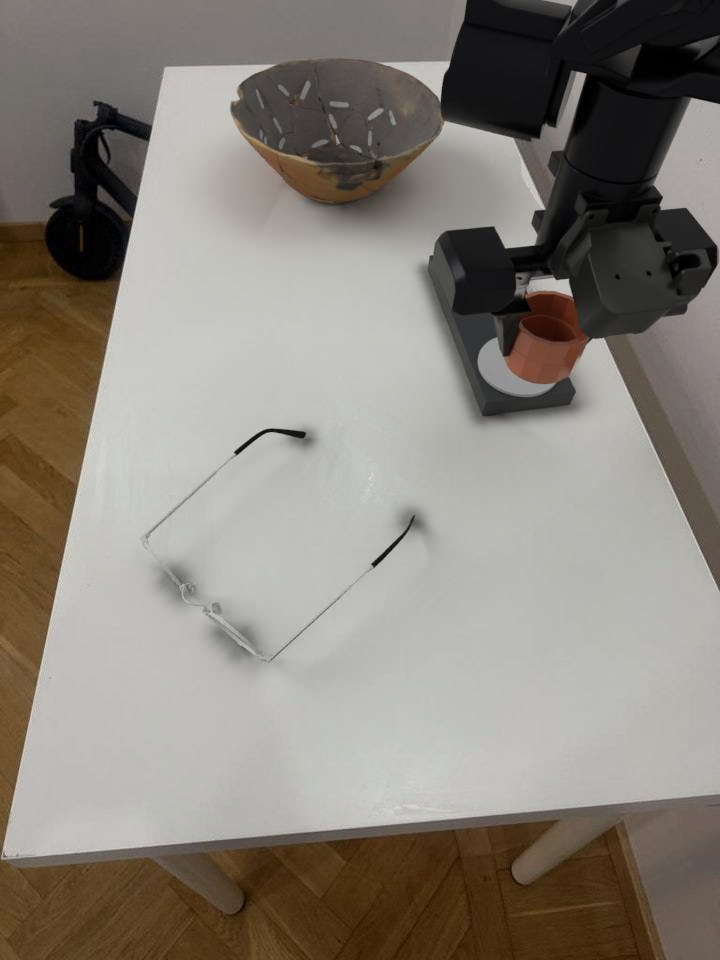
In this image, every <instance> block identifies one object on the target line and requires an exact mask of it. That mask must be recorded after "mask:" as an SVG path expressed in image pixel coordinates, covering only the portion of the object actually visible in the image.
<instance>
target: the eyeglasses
mask: <svg viewBox="0 0 720 960" xmlns="http://www.w3.org/2000/svg"><path fill="white" fill-rule="evenodd" d="M270 433H275V434H280V435H285V436H290V437H293V438H297V439H301V440H303V439H305V438H306V436H307V432H306V431H303V430H295V429H288V428H287V429H286V428H274V427H273V428H271V427H269V428H266V429H263V430H261V431H259V432H257V433H256V434H254V435H253V436H252V437H250V438H248V440H247V441H245V442H244V443H243V444H241V445H240V446H239V447H237V448H236V449H235V450H234V451H233V452H232V454H231V455H230V456H229V458H228V459H227V460H226V461H225V462H224V463H222V464H221V465H220V466H219V467H218V468H217V469H216V470H214V471H212V472H211V473H210V474H209V475H208V476H207V477H206V478H204V479H203V481H201V482H200V483H199V484H198V485H197V486H195V488H193V489H192V491H190V492H189V493H188V494H187V495H186V496H185V497H183V498H182V499H181V500H180V501H179V502H178V503H177V504H175V506H173V507H172V508H171V509H170V510H169V511H168V512H167V513H166V514H164V515H163V516H162V517H161V518H160V519H159V520H157V522H155V524H153V525H152V526H151V527H150V528H149V529H148V530H147V531H146V532H144V533H143V534H142V535H141V536H140V537H139V540H140V541H141V545H142V547H144V548H145V549H146V550H148V552H149V553H150V554H151V556H152V557H153V558H154V559H155V560H156V562H157V563H158V564H159V565H160V566H161V567H162V568H163V570H164V571H165V572H166V573H167V574H168V575H169V576H170V578H171V580H172V581H173V582H174V583H175V584H176V585H177V586H178V588H179V590H180V592H181V597H182V599H183V600H184V602H185V603H187V604H188V605H190V606H194V607H202V608H201V609H202V610H201V613H202V614H204V615H205V616H207V617H208V618H209V619H210V620H211V621H212V622H213V623H214V624H215V625H216V626H218V627H219V628H220V629H221V630H222V631H223V632H224V633H225V634H227V636H229V637H230V638H232V639H233V640H234V641H235V642H236V643H237V645H238V646H240V647H241V648H244V649H245V650H247V651H248V652H249V653H251V654H252V655H253V656H255V657H257V658H258V659H259V660H260V661H262V662H263V661H265V662H267V664H270V663H271V662H272V661H273V660H274V659H275V658H276V657H277V656H278V655H280V654H281V652H283V651H284V650H285V649H286V648H287V647H288V646H290V644H292V643H293V642H294V641H295V640H297V638H298V637H300V636H301V634H302V633H303V632H305V631H306V630H307V629H308V628H309V627H310V626H311V625H312V624H314V623H315V621H317V620H318V619H319V618H320V617H321V616H322V615H324V613H326V612H327V610H329V609H330V608H331V607H332V606H333V605H334V604H335V603H336V602H337V601H339V600H340V599H341V598H342V597H343V596H344V595H345V594H347V592H348V591H349V590H350V589H352V587H353V586H354V585H355V584H357V582H359V581H360V580H361V579H362V578H363V577H364V576H365V575H366V574H368V573H369V572H371V571H373V570H374V569H375V568H377V566H378V565H379V564H380V563H382V562H383V560H385V558H386V557H388V555H389V554H390V553H392V551H393V550H394V549H395V548H396V547H397V545H399V543H401V541H402V540H403V539H404V538H405V537H406V535H407V534H408V533H409V531H410V529H411V527H412V525H413V523H414V520H415V518H416V515H415V514H413V515H412V517H411V519H410V520H409V523H408V526H407V527H406V529H405V530H404V531H403V532H402V533H401V535H399V536H398V537H397V538H396V539H395V540H394V541H393V542H392V543H391V544H390V545H389V546H388V547H387V548H386V549H385V550H384V551H383V552H382V553H381V554H380V555H379V556H378V557H377V558H375V560H373V561H372V562H371V563H370V565H369V566H368V567H367V568H366V570H365V571H364V572H363V573H362V574H361V575H359V577H357V578H356V579H355V580H354V581H353V582H352V583H351V584H349V585H348V586H347V587H345V589H343V591H341V592H340V593H339V594H338V595H337V596H336V597H335V598H333V599H332V601H330V602H329V603H328V604H327V605H326V606H325V607H324V608H323V609H322V610H320V611H319V612H318V613H317V614H316V615H315V616H314V617H313V618H312V619H310V620H309V621H308V622H307V623H306V624H305V625H303V627H301V628H300V629H299V630H298V631H297V632H296V633H295V634H294V635H293V636H291V638H289V639H288V640H287V641H286V642H285V643H284V644H282V646H281V647H279V648H278V649H277V650H276V651H271V652H270V653H269V654H268V653H267V652H262V651H260V650H259V649H258V648H257V647H256V646H255V645H254V644H253V643H251V642H250V640H249V639H247V638H246V637H245V636H244V635H243V634H242V633H241V632H239V630H237V629H236V628H235V627H233V626H232V625H231V624H230V623H229V622H227V621H226V620H224V619H223V618H222V617H220V615H222V614H223V609H222V607H221V604H220V601H219V602H218V601H217V600H215V601H212V603H211V609H212V611H211V610H210V609H209V608H208V606H207V604H205V603H192V602H190V601H188V600H187V599H186V598H185V595H186V596H188V595H190V592H189V589H191V594H194V593H195V591H196V589H197V585H198V581H194V583H191V582H187V583H182V582H180V580H179V579H178V577H176V575H175V574H174V573H173V572H172V571H171V569H169V567H168V566H167V564H166V563H164V561H163V560H162V559H161V558H160V557H159V555H158V554H157V553H156V551H154V550H153V548H152V547H151V546H150V544H149V540H148V539H149V538H150V537H151V534H152V533H153V532H154V531H155V530H157V528H158V527H159V526H161V525H162V524H163V523H164V522H165V521H166V520H168V518H170V517H171V516H172V515H173V514H174V513H175V512H176V511H177V510H178V509H180V507H182V506H183V505H184V504H185V503H186V502H187V501H188V500H189V499H190V498H191V497H192V496H194V495H195V494H196V493H197V492H198V491H199V490H200V489H201V488H202V487H204V485H206V484H207V483H208V482H209V481H210V480H211V479H212V478H213V477H214V476H215V475H217V473H218V472H219V471H220V470H221V469H222V468H223V467H224V466H226V465H227V464H228V463H229V462H230V461H231V460H233V459H235V458H236V457H237V456H239V455H240V454H241V453H243V451H244V450H246V449H247V448H248V447H249V446H250V445H251V444H253V443H254V442H255V441H257V440H258V439H259V438H261V437H263V436H264V435H266V434H270ZM187 585H189V586H188V587H189V589H188V588H187Z"/></svg>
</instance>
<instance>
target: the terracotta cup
mask: <svg viewBox="0 0 720 960" xmlns="http://www.w3.org/2000/svg"><path fill="white" fill-rule="evenodd" d="M525 297H526V299H527V301H528V303H529V305H530V307H531V309H532V312H531V313H528V314H523V315H522V316H521V320H520V324H519V327H518V331H517V334H516V338H515V341H514V345H513V347H512V350H511V352H510V354H509V356H507V357H503V358H504V360H505V363H506V365H507V367H508V368H509V369H510V370H511V371H512V372H513V373H514V374H515V375H516V376H518V377H519V378H521V379H523V380H525V381H528V382H531V383H535V384H552V383H556V382H559V381H561V380H562V379H565V378H567V377H569V378H570V376H571V375H572V374H573V372H574V371H575V370H576V369H577V367H578V365H579V362H580V360H581V358H582V356H583V353H584V351H585V349H586V348H587V345H588V344H589V343H588V340H589V338H590V337H587V336H586V335H585V334H584V333H583V332H582V331H581V329H580V327H579V324H578V314H577V310H576V307H575V303H574V300H573V296H572V295H570V294H567V293H563V292H559V291H556V290H535V291H532V292H530V293H529V292H528V294H526V295H525ZM587 343H588V344H587ZM502 356H503V355H502Z"/></svg>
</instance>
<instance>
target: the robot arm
mask: <svg viewBox="0 0 720 960" xmlns="http://www.w3.org/2000/svg"><path fill="white" fill-rule="evenodd" d="M465 2H466V3H465V10H464V16H463V20H462V23H461V25H460V28H459V31H458V34H457V36H456V39H455V43H454V46H453V48H452V49H453V50H452V53H451V56H450V61H449V65H448V68H447V69H446V70H445V72H444V74H443V77H442V83H441V92H440V103H441V106H440V111H441V117H442V119H443V121H445V122H448V123H451V124H455V125H460V126H463V127H468V128H471V129H476V130H479V131H483V132H487V133H491V134H496V135H499V136H504V137H508V138H511V139H515V140H520V141H523V142H528V143H534V142H535V140H538V141H539V140H541V138H542V137H543V133H544V130H545V127H546V125H547V128H553V129H558V127H559V125H560V123H561V121H562V118H563V115H564V113H565V110H566V107H567V105H568V102H569V99H570V96H571V93H572V90H573V86H574V83H575V79H576V76H577V73H581V74H585V77H584V80H583V84H582V87H581V90H580V93H579V96H578V101H577V104H576V107H575V111H574V114H573V117H572V120H571V123H570V127H569V130H568V134H567V136H566V140H565V142H564V143H565V144H564V146H563V149H560V150H551V154H550V156H549V160H548V163H547V165H546V167H547V168H548V170H549V172H550V173H551V174H552V176H553V178H554V180H553V183H552V186H551V189H550V193H549V196H548V200H547V203H546V205H545V209H536V210H534V212H533V215H532V219H531V221H530V222H531V223H530V224H531V227H532V228H533V230H534V231H535V233H536V235H537V236H536V239H535V243H534V245H525V246H524V245H523V246H516V247H505V245H504V242H503V241H502V239H501V237H500V235H499V233H498V231H497V229H496V227H495V226H494V225H491V226H480V227H471V228H470V227H469V228H460V229H450V230H449V229H447V230H445V231H443V232H442V233H440V235H439V236H438V238H437V239H436V241H435V242H434V245H433V246H434V247H433V254H432V255H433V259H432V264H433V266H434V269H435V271H436V274H437V276H438V279H439V281H440V284H441V286H442V289H443V291H444V293H445V296H446V298H447V301H448V303H449V306H450V308H451V311H453V312H455V313H457V314H459V315H462V316H464V315H473V314H481V313H488V314H489V315H491V316H493V317H494V323H495V328H496V333H497V338H498V344H499V348H500V351H501V353H502V355H503V357H507V356H509V354H510V352H511V350H512V347H513V345H514V341H515V338H516V334H517V331H518V327H519V324H520V320H521V316H522V315H523V314H528V313H531V312H532V309H531V307H530V305H529V303H528V301H527V299H526V297H525V292H526V290H527V288H528V286H529V285H530V282H531V281H539V280H548V279H554V280H555V281H562V280H568V286H569V289H570V292H571V296H572V297H573V300H574V303H575V307H576V310H577V314H578V324H579V327H580V329H581V331H582V332H583V333H584V334H585V335H586V336H587V337H590V338H589V340H588V343H587V345H588V344H589V343H590V342H591V341H592V340H597V339H598V340H599V339H605V338H608V337H613V336H614V337H615V336H621V335H630V334H632V335H640V334H644V333H645V332H647V331H648V330H649V329H650V328H651V327H652V326H653V325H655V324H656V323H657V322H658V321H659V320H660V319H661V318H667V317H675V316H683V315H685V314H686V313H687V311H688V307H689V305H688V304H690V303H691V302H692V301H694V300H695V299H696V298H697V297H698V296H699V295H700V293H701V292H702V289H705V288H706V286H707V284H708V282H709V280H710V279H711V277H712V275H713V274H714V272H715V271H716V268H717V267H718V265H719V263H720V250H719V247H718V245H717V243H715V241H714V240H713V239H712V237H711V236H710V235H709V233H707V231H706V230H705V229H704V227H703V226H702V225H701V224H700V223H699V221H698V220H697V219H696V218H695V216H694V215H693V214H692V212H691V211H690V210H689V209H688V207H679V208H666V209H662V206H661V203H662V201H663V198H664V196H663V195H662V193H661V192H660V191H659V189H658V188H657V187H656V186H655V183H656V180H657V178H658V175H659V173H660V171H661V169H662V166H663V164H664V162H665V160H666V157H667V155H668V153H669V150H670V148H671V146H672V144H673V141H674V139H675V136H676V135H677V132H678V130H679V128H680V126H681V123H682V121H683V118H684V117H685V115H686V112H687V109H688V107H689V105H690V103H691V100H692V99H694V100H699V101H704V102H708V103H712V104H717V105H720V0H577V1H576V2H575V3H574V6H572V5H569V4H565V3H559V2H554V1H549V0H466V1H465Z"/></svg>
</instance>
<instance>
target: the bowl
mask: <svg viewBox="0 0 720 960" xmlns="http://www.w3.org/2000/svg"><path fill="white" fill-rule="evenodd" d="M236 94H237V96H238V98H239V99H237V100H231V101H230V103H229V112H230V115H231V117H232V119H233V122H234V124H235V126H236V128H237V130H238V131H239V134H240V135H241V136H242V137H243V138H244V139H245V140H246V141H247V142H248V144H249V145H250V146H251V147H252V148H253V149H254V150H255V152H256V153H257V154H259V156H260V157H261V158H262V159H263V160H264V161H265V162H266V163H267V165H269V166H270V167H271V168H272V169H273V170H274V171H275V172H276V173H277V174H278V175H279V176H280V177H281V178H282V180H283V181H284V183H286V184H287V185H288V186H289V187H290V188H291V189H293V190H294V191H295V192H297V193H299V194H300V195H302V196H304V197H306V198H308V199H310V200H312V201H314V202H317V203H318V202H319V203H324V204H332V205H334V204H335V205H337V204H342V203H347V202H354V201H358V200H361V199H363V198H367V197H368V196H370V195H372V194H375V193H376V192H378V191H379V190H381V189H382V188H383V187H385V186H386V185H388V184H389V183H390V182H392V181H393V180H394V179H396V178H397V177H398V176H399V175H400V174H401V173H402V172H403V171H404V170H406V168H407V167H408V166H409V165H411V164H412V163H413V162H414V161H415V160H416V159H417V158H418V157H419V156H420V155H422V153H424V151H425V150H426V149H427V148H428V147H429V146H430V145H431V144H432V143H433V142H434V141H435V140H436V139H437V138H439V136H440V135H441V133H442V130H443V127H444V125H445V122H446V121H443V119H442V117H441V111H440V106H441V100H440V98H439V96H438V95H437V94H436V93H435V92H434V91H432V89H431V88H430V87H429V86H428V85H427V84H425V82H423V81H421V80H420V79H418V78H417V77H415V76H414V75H412V74H411V73H408V72H406V71H404V70H401V69H398V68H397V67H393V66H391V65H386V64H383V63H381V62H376V61H371V60H363V59H356V58H343V57H342V58H341V57H333V58H332V57H331V58H328V57H327V58H317V59H312V58H304V59H303V58H302V59H297V60H296V59H295V60H290V61H289V60H288V61H283V62H280V63H278V64H274V65H272V66H269V67H268V68H266V69H263V70H260V71H257V72H255V73H254V74H251V75H250V76H248V77H247V78H245V79H244V80H242V81H241V83H240V84H239V85H238V86H237V88H236ZM337 140H338V141H339V143H337Z"/></svg>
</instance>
